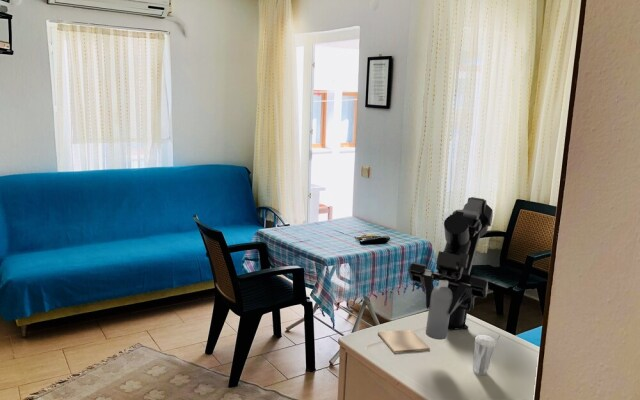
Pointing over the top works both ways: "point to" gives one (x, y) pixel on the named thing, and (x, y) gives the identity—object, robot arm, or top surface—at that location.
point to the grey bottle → (439, 311)
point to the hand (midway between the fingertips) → (438, 311)
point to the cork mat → (403, 341)
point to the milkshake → (483, 353)
